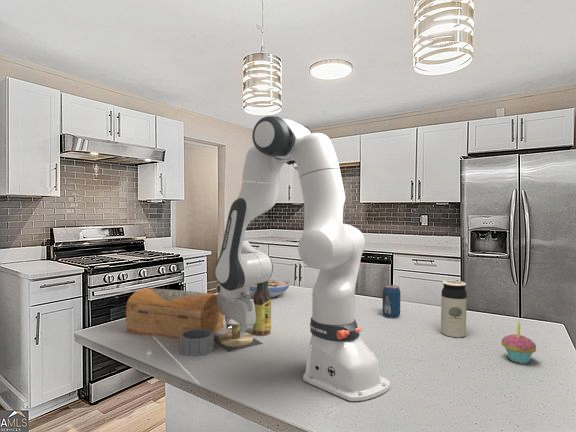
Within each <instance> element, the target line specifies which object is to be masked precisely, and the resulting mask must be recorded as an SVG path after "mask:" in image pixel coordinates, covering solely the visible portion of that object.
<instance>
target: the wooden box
mask: <svg viewBox="0 0 576 432" xmlns="http://www.w3.org/2000/svg"><path fill="white" fill-rule="evenodd" d="M125 309H126V310H125V327H126V332H127V333H130V334H132V333H133V334H139V335H144V336H145V335H146V336H160V337H169V338H176V339H179V336H180V334H181V333H182V332H184V331H187V330H191V329H209V330H212V331H213V332H214V334H216V333H217V332H218V331H220V330H221V329H223V328H224V315H223V314H222V313H220V312H219V311H218V308H217V293H210V292H209V293H208V292H198V291H190V290H178V289H166V288H165V289H163V288H153V287H152V288H151V287H150V288H149V287H148V288H147V287H145V288H141V289H138V290H137V291H135V292H133V293H132V294H131V295H130V296H129V298H128V300H127V302H126V307H125Z"/></svg>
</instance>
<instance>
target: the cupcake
mask: <svg viewBox="0 0 576 432" xmlns="http://www.w3.org/2000/svg"><path fill="white" fill-rule="evenodd" d="M516 330H517V333H516V334H515V333H514V334H508V335H506V336H504V337H503V338H502V339H501V343H500V344H501V346H503V347H504V349H505V350H506V353H507V357H508V359H509V360H510V359H511V360H512V362H514V361H515V362H514V363H517V362H521V363H520V364H528V363H529V361H530V359H531V357H532V355H533V354H534V353H535V352H537V344H536V342H534V341H533V340H532V339H530V338H529V337H526V336H525V335H522V334H521V322H520V321H518V322H517V329H516ZM511 360H510V361H511ZM527 362H528V363H527Z"/></svg>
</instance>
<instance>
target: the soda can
mask: <svg viewBox="0 0 576 432" xmlns="http://www.w3.org/2000/svg"><path fill="white" fill-rule="evenodd" d="M381 312H382V316H384V317H385V318H386V319H387V318H389V319H397V318H399V317H400V315H401V289H400V286H398V285H393V284H385V285H384V286H383V289H382V310H381Z"/></svg>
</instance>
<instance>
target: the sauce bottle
mask: <svg viewBox="0 0 576 432" xmlns="http://www.w3.org/2000/svg"><path fill="white" fill-rule="evenodd" d="M252 301H253V302H254V305H255V315H256V322H255V324H254V325H252V333H253V334H252V335H255V336H258V337H259V336H260V337H264V336H269V335H270V334H271V329H272V298H271V297H270V294H269V291H268V281H265V282H263V283H259V284H257V290H256V292H255V293H254V294H253V299H252Z"/></svg>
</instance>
